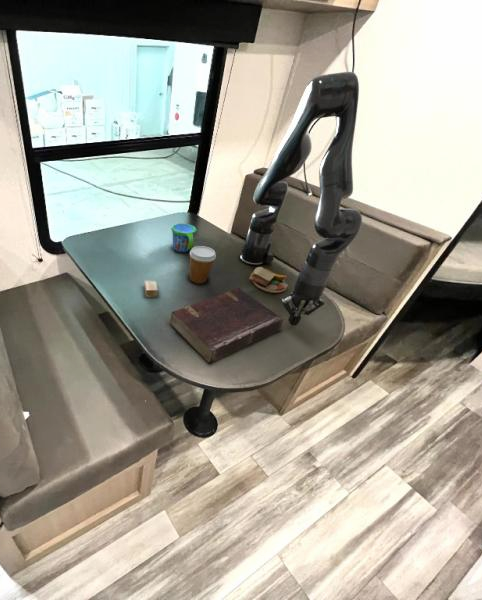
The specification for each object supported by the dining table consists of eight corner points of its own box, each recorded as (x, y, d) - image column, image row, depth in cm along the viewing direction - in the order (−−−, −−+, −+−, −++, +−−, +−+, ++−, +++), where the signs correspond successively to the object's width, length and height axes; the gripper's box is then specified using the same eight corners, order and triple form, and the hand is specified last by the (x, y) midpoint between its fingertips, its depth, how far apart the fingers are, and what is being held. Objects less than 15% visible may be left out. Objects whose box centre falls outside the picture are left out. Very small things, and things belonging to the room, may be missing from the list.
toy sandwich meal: (276, 298, 113) (280, 287, 110) (243, 282, 121) (246, 272, 118) (291, 286, 120) (296, 275, 117) (259, 271, 128) (263, 261, 125)
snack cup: (164, 242, 147) (166, 221, 141) (185, 240, 149) (188, 220, 143) (175, 258, 135) (178, 236, 129) (198, 256, 137) (202, 234, 131)
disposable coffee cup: (210, 287, 117) (216, 259, 110) (184, 283, 119) (189, 255, 112) (210, 274, 125) (216, 247, 118) (186, 271, 126) (190, 244, 119)
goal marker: (155, 287, 116) (155, 280, 114) (156, 297, 111) (157, 290, 109) (144, 287, 116) (144, 280, 114) (145, 297, 111) (146, 290, 109)
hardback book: (209, 363, 87) (213, 350, 84) (169, 324, 100) (171, 311, 97) (279, 330, 99) (284, 318, 96) (235, 299, 112) (239, 287, 109)
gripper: (328, 271, 93) (306, 316, 104) (285, 270, 92) (267, 316, 103) (343, 285, 87) (318, 331, 98) (297, 285, 86) (277, 331, 97)
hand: (292, 323), depth 100 cm, fingers closed
